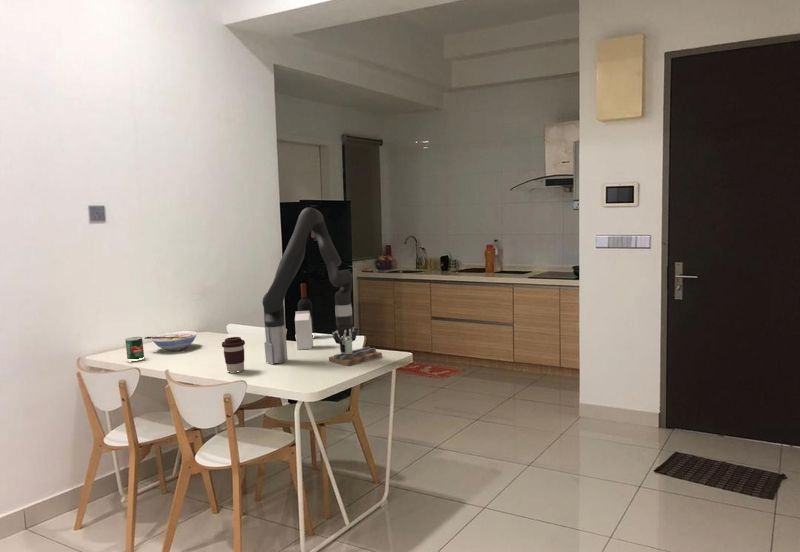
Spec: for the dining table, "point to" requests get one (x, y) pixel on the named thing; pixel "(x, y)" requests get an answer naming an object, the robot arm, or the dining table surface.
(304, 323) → the milk carton
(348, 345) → the fader
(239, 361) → the coffee cup
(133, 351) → the canned tomato
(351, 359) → the brown flat piece
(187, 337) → the ramen bowl
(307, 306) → the wine bottle
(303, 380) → the dining table surface
